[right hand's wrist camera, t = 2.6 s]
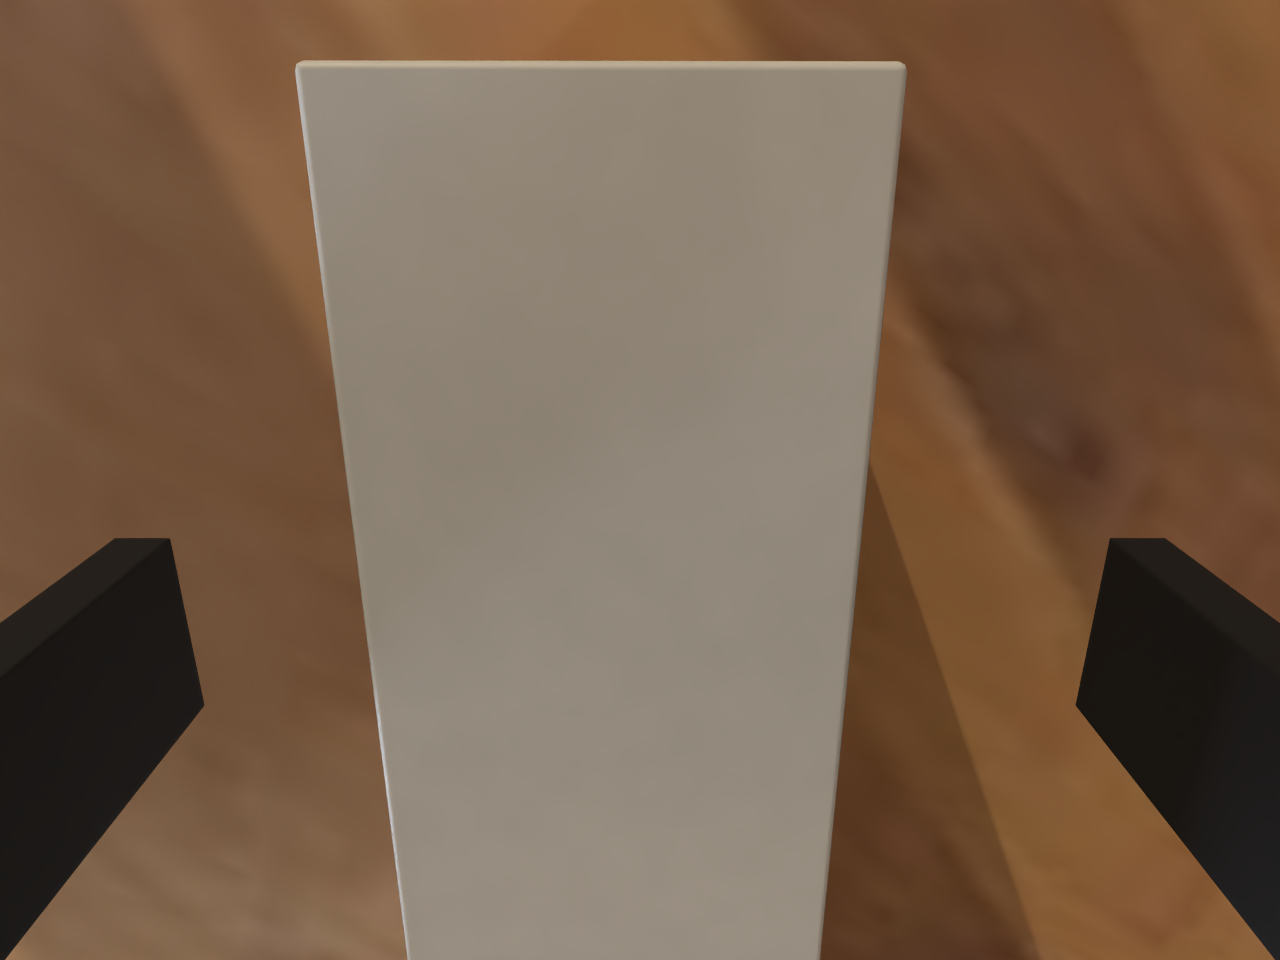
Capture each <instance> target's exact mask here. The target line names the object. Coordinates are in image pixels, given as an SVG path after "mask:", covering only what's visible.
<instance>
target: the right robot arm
mask: <svg viewBox="0 0 1280 960" xmlns="http://www.w3.org/2000/svg"><path fill="white" fill-rule="evenodd" d="M203 706H204V701H203V696H202V692H201V687H200V682H199V677H198V672H197V667H196V662H195V658H194V653H193V648H192V643H191V638H190V633H189V628H188V624H187V619H186V614H185V609H184V604H183V599H182V595H181V590H180V585H179V580H178V575H177V570H176V565H175V561H174V556H173V551H172V546H171V541H170V538H115V539H113V540H112V541H111V542H109V543H108V544H107V545H105V546H104V547H103V548H101V549H100V550H99V551H97V552H96V553H95V554H93V555H92V556H91V557H89V558H88V559H86V560H85V561H84V562H82V563H81V564H80V565H78V566H77V567H76V568H74V569H73V570H72V571H70V572H69V573H68V574H66V575H65V576H63V577H62V578H61V579H59V580H58V581H57V582H55V583H54V584H53V585H51V586H50V587H49V588H47V589H46V590H45V591H43V592H42V593H40V594H39V595H38V596H36V597H35V598H34V599H32V600H31V601H30V602H28V603H27V604H26V605H24V606H23V607H22V608H20V609H19V610H18V611H16V612H15V613H13V614H12V615H11V616H9V617H8V618H7V619H5V620H4V621H3V622H1V623H0V960H5V959H6V958H7V956H8V955H9V954H10V953H11V951H12V950H13V949H14V947H15V946H16V945H17V944H18V942H19V941H20V940H21V939H22V937H23V936H24V935H25V933H26V932H27V931H28V930H29V928H30V927H31V926H32V925H33V923H34V922H35V921H36V919H37V918H38V917H39V916H40V914H41V913H42V912H43V910H44V909H45V908H46V907H47V905H48V904H49V903H50V902H51V900H52V899H53V898H54V896H55V895H56V894H57V893H58V891H59V890H60V889H61V888H62V886H63V885H64V884H65V882H66V881H67V880H68V879H69V877H70V876H71V875H72V874H73V872H74V871H75V870H76V868H77V867H78V866H79V865H80V863H81V862H82V861H83V859H84V858H85V857H86V856H87V854H88V853H89V852H90V851H91V849H92V848H93V847H94V845H95V844H96V843H97V842H98V840H99V839H100V838H101V837H102V835H103V834H104V833H105V831H106V830H107V829H108V828H109V826H110V825H111V824H112V823H113V821H114V820H115V819H116V817H117V816H118V815H119V814H120V812H121V811H122V810H123V808H124V807H125V806H126V805H127V803H128V802H129V801H130V800H131V798H132V797H133V796H134V794H135V793H136V792H137V791H138V789H139V788H140V787H141V786H142V784H143V783H144V782H145V780H146V779H147V778H148V777H149V775H150V774H151V773H152V772H153V770H154V769H155V768H156V766H157V765H158V764H159V763H160V761H161V760H162V759H163V757H164V756H165V755H166V754H167V752H168V751H169V750H170V749H171V747H172V746H173V745H174V743H175V742H176V741H177V740H178V738H179V737H180V736H181V735H182V733H183V732H184V731H185V729H186V728H187V727H188V726H189V724H190V723H191V722H192V721H193V719H194V718H195V717H196V715H197V714H198V713H199V712H200V710H201V709H202V708H203ZM1076 706H1077V708H1078V709H1079V710H1080V712H1081V713H1082V714H1083V715H1084V717H1085V718H1086V719H1087V721H1088V722H1089V723H1090V724H1091V726H1092V727H1093V728H1094V729H1095V731H1096V732H1097V733H1098V735H1099V736H1100V737H1101V738H1102V740H1103V741H1104V742H1105V743H1106V745H1107V746H1108V747H1109V749H1110V750H1111V751H1112V752H1113V754H1114V755H1115V756H1116V757H1117V759H1118V760H1119V761H1120V763H1121V764H1122V765H1123V766H1124V768H1125V769H1126V770H1127V772H1128V773H1129V774H1130V775H1131V777H1132V778H1133V779H1134V780H1135V782H1136V783H1137V784H1138V786H1139V787H1140V788H1141V789H1142V791H1143V792H1144V793H1145V794H1146V796H1147V797H1148V798H1149V800H1150V801H1151V802H1152V803H1153V805H1154V806H1155V807H1156V808H1157V810H1158V811H1159V812H1160V814H1161V815H1162V816H1163V817H1164V819H1165V820H1166V821H1167V823H1168V824H1169V825H1170V826H1171V828H1172V829H1173V830H1174V831H1175V833H1176V834H1177V835H1178V837H1179V838H1180V839H1181V840H1182V842H1183V843H1184V844H1185V845H1186V847H1187V848H1188V849H1189V851H1190V852H1191V853H1192V854H1193V856H1194V857H1195V858H1196V859H1197V861H1198V862H1199V863H1200V865H1201V866H1202V867H1203V868H1204V870H1205V871H1206V872H1207V874H1208V875H1209V876H1210V877H1211V879H1212V880H1213V881H1214V882H1215V884H1216V885H1217V886H1218V888H1219V889H1220V890H1221V891H1222V893H1223V894H1224V895H1225V896H1226V898H1227V899H1228V900H1229V902H1230V903H1231V904H1232V905H1233V907H1234V908H1235V909H1236V910H1237V912H1238V913H1239V914H1240V916H1241V917H1242V918H1243V919H1244V921H1245V922H1246V923H1247V925H1248V926H1249V927H1250V928H1251V930H1252V931H1253V932H1254V933H1255V935H1256V936H1257V937H1258V939H1259V940H1260V941H1261V942H1262V944H1263V945H1264V946H1265V947H1266V949H1267V950H1268V951H1269V953H1270V954H1271V955H1272V956H1273V958H1274V959H1275V960H1280V623H1279V622H1277V621H1276V620H1275V619H1273V618H1272V617H1271V616H1269V615H1268V614H1267V613H1265V612H1264V611H1262V610H1261V609H1260V608H1258V607H1257V606H1256V605H1254V604H1253V603H1252V602H1250V601H1249V600H1248V599H1246V598H1245V597H1244V596H1242V595H1241V594H1240V593H1238V592H1237V591H1235V590H1234V589H1233V588H1231V587H1230V586H1229V585H1227V584H1226V583H1225V582H1223V581H1222V580H1221V579H1219V578H1218V577H1217V576H1215V575H1214V574H1212V573H1211V572H1210V571H1208V570H1207V569H1206V568H1204V567H1203V566H1202V565H1200V564H1199V563H1198V562H1196V561H1195V560H1194V559H1192V558H1191V557H1189V556H1188V555H1187V554H1185V553H1184V552H1183V551H1181V550H1180V549H1179V548H1177V547H1176V546H1175V545H1173V544H1172V543H1171V542H1169V541H1168V540H1167V539H1165V538H1110V541H1109V546H1108V551H1107V556H1106V561H1105V565H1104V570H1103V575H1102V580H1101V585H1100V590H1099V595H1098V599H1097V604H1096V609H1095V614H1094V619H1093V624H1092V628H1091V633H1090V638H1089V643H1088V648H1087V653H1086V658H1085V662H1084V667H1083V672H1082V677H1081V682H1080V687H1079V692H1078V696H1077V701H1076Z"/></svg>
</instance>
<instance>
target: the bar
mask: <svg viewBox="0 0 1280 960" xmlns="http://www.w3.org/2000/svg"><path fill="white" fill-rule="evenodd" d="M295 74H296V82H297V90H298V98H299V106H300V114H301V121H302V129H303V137H304V145H305V153H306V161H307V169H308V177H309V185H310V193H311V200H312V208H313V216H314V224H315V232H316V240H317V248H318V256H319V264H320V271H321V279H322V287H323V295H324V303H325V311H326V319H327V327H328V335H329V343H330V350H331V358H332V366H333V374H334V382H335V390H336V398H337V406H338V414H339V421H340V429H341V437H342V445H343V453H344V461H345V469H346V477H347V485H348V493H349V500H350V508H351V516H352V524H353V532H354V540H355V548H356V556H357V564H358V571H359V579H360V587H361V595H362V603H363V611H364V619H365V627H366V635H367V643H368V650H369V658H370V666H371V674H372V682H373V690H374V698H375V706H376V714H377V721H378V729H379V737H380V745H381V753H382V761H383V769H384V777H385V785H386V793H387V800H388V808H389V816H390V824H391V832H392V840H393V848H394V856H395V864H396V871H397V879H398V887H399V895H400V903H401V911H402V919H403V927H404V935H405V943H406V950H407V958H408V960H820V954H821V943H822V933H823V923H824V913H825V903H826V892H827V882H828V872H829V862H830V852H831V841H832V831H833V821H834V811H835V801H836V791H837V780H838V770H839V760H840V750H841V740H842V729H843V719H844V709H845V699H846V689H847V678H848V668H849V658H850V648H851V638H852V628H853V617H854V607H855V597H856V587H857V577H858V566H859V556H860V546H861V536H862V526H863V515H864V505H865V495H866V485H867V475H868V465H869V454H870V444H871V434H872V424H873V414H874V403H875V393H876V383H877V373H878V363H879V352H880V342H881V332H882V322H883V312H884V302H885V291H886V281H887V271H888V261H889V251H890V240H891V230H892V220H893V210H894V200H895V189H896V179H897V169H898V159H899V149H900V139H901V128H902V118H903V108H904V98H905V88H906V77H907V70H906V66H905V64H903V63H901V62H899V61H365V60H303V61H301V62H299V63H297V64H296V69H295Z"/></svg>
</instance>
